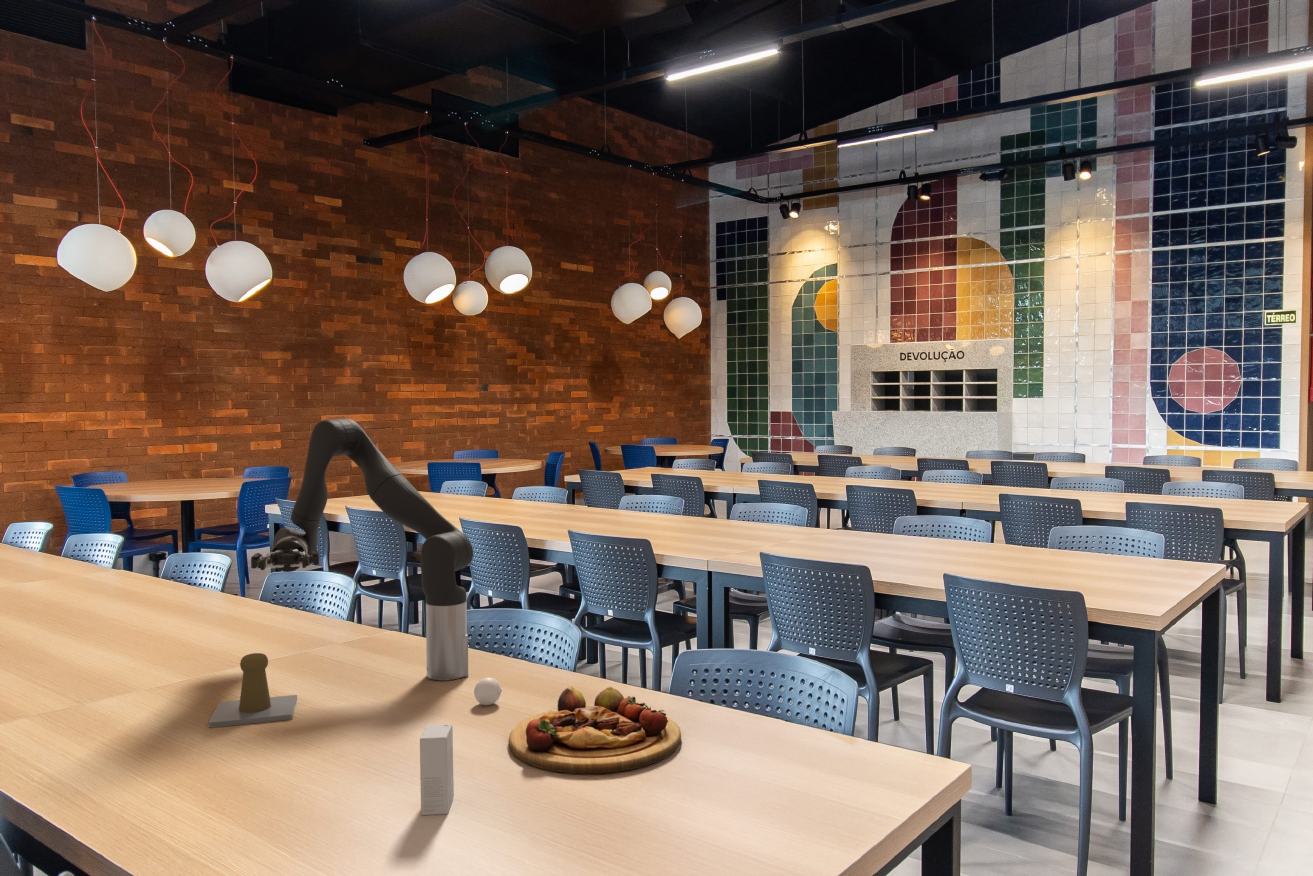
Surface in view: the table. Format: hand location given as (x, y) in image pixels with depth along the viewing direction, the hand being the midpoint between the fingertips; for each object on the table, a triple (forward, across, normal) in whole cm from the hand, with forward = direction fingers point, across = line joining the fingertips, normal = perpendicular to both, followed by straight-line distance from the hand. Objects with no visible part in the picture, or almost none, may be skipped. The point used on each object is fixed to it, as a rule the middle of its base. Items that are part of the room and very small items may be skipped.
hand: (283, 564), depth 194 cm
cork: (+14, -4, +27) cm, 31 cm away
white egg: (+23, +42, +28) cm, 56 cm away
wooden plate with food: (+51, +58, +29) cm, 82 cm away
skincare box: (+70, +28, +28) cm, 81 cm away
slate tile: (+14, -4, +28) cm, 32 cm away
